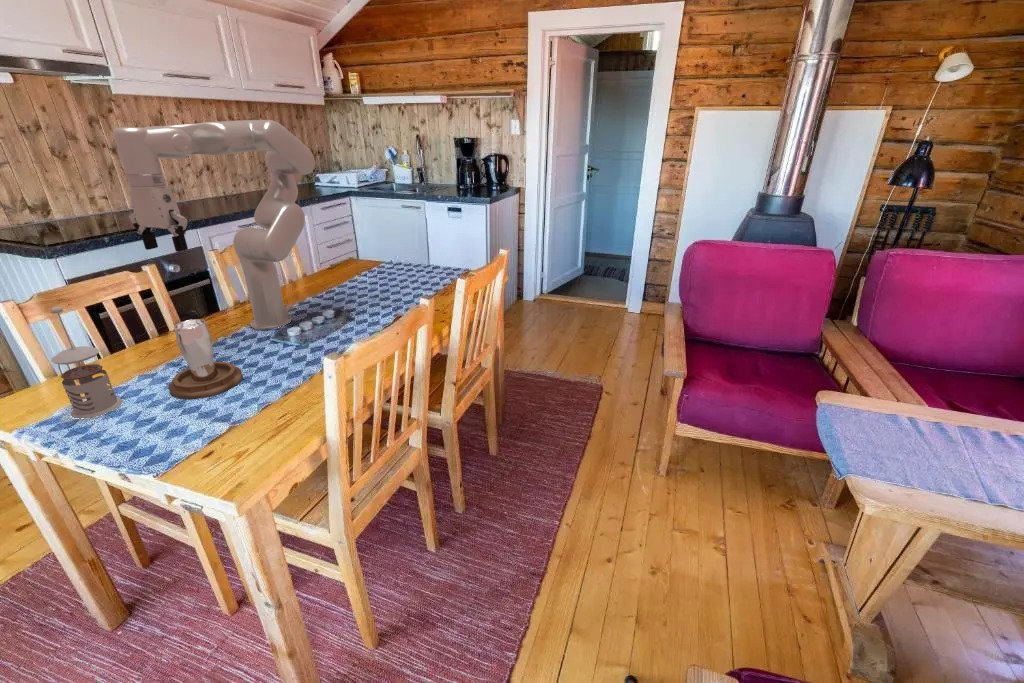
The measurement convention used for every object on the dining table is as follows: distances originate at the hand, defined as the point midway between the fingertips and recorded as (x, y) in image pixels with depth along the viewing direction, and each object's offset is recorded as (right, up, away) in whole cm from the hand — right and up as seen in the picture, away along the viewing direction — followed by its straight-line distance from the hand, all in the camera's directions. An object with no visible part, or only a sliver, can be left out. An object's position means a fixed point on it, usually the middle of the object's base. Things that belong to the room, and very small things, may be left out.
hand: (167, 249), depth 124 cm
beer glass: (+13, -34, -4) cm, 36 cm away
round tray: (+13, -35, -4) cm, 37 cm away
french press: (-6, -40, -14) cm, 43 cm away
